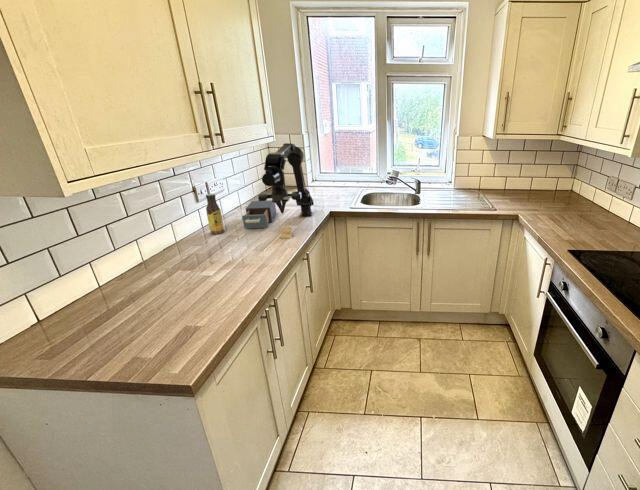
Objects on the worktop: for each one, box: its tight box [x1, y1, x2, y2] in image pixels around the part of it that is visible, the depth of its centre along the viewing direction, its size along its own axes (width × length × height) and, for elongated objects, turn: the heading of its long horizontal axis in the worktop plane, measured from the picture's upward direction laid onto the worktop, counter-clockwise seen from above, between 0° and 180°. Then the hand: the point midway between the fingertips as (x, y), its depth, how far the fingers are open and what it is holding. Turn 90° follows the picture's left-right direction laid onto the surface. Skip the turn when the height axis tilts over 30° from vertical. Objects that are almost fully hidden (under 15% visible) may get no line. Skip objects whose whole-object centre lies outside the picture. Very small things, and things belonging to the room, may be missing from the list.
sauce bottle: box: [205, 193, 225, 235], centre depth 157 cm, size 7×6×20 cm
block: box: [280, 226, 293, 239], centre depth 156 cm, size 4×4×4 cm
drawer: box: [241, 209, 270, 229], centre depth 167 cm, size 18×11×7 cm, turn 11°
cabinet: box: [245, 199, 277, 223], centre depth 179 cm, size 15×13×9 cm
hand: (282, 213), depth 152 cm, fingers closed
